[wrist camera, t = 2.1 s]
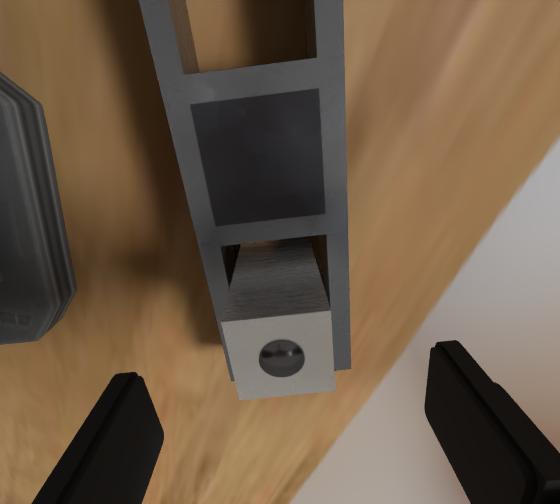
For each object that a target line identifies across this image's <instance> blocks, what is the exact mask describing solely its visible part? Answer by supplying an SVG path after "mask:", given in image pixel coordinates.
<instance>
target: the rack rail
mask: <svg viewBox="0 0 560 504" xmlns="http://www.w3.org/2000/svg"><path fill="white" fill-rule="evenodd" d="M139 4H140V8H141V12H142V16H143V20H144V24H145V28H146V33H147V37H148V41H149V45H150V49H151V53H152V57H153V61H154V65H155V70H156V74H157V78H158V82H159V86H160V90H161V94H162V98H163V102H164V107H165V111H166V115H167V119H168V123H169V127H170V131H171V135H172V139H173V144H174V148H175V152H176V156H177V160H178V164H179V168H180V172H181V176H182V181H183V185H184V189H185V193H186V197H187V201H188V205H189V209H190V213H191V218H192V222H193V226H194V230H195V234H196V238H197V242H198V246H199V250H200V255H201V259H202V263H203V267H204V271H205V275H206V279H207V283H208V287H209V292H210V296H211V300H212V304H213V308H214V312H215V316H216V320H217V324H218V329H219V333H220V337H221V341H222V345H223V349H224V353H225V357H226V361H227V366H228V370H229V374H230V378H231V381H235V380H234V375H233V371H232V367H231V363H230V359H229V354H228V350H227V346H226V342H225V337H224V333H223V329H222V325H221V320H222V316H223V312H224V308H225V305H226V301H227V297H228V293H229V289H230V285H231V281H232V277H233V273H234V269H235V265H236V261H235V256H234V250H233V245H235V244H244V243H253V242H261V241H270V240H279V239H288V238H297V237H306V236H314V235H319V244H320V259H321V275H322V283H323V286H324V289H325V293H326V296H327V299H328V302H329V306H330V309H331V320H332V340H333V359H334V371H336V370H346V369H351V347H350V300H349V253H348V206H347V159H346V113H345V66H344V19H343V0H304V9H305V24H306V40H307V56H308V59H304V60H296V61H288V62H280V63H273V64H265V65H257V66H249V67H242V68H234V69H226V70H218V71H210V72H203V73H199V69H198V63H197V58H196V53H195V48H194V43H193V37H192V32H191V27H190V22H189V17H188V11H187V6H186V1H185V0H139Z"/></svg>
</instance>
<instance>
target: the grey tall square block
mask: <svg viewBox="0 0 560 504" xmlns="http://www.w3.org/2000/svg"><path fill="white" fill-rule="evenodd" d="M221 325H222V329H223V333H224V337H225V342H226V346H227V350H228V354H229V359H230V363H231V367H232V371H233V375H234V380H235V384H236V388H237V392H238V397H239V400H247V399H257V398H267V397H277V396H287V395H298V394H308V393H318V392H328V391H335V378H334V359H333V340H332V320H331V309H330V306H329V302H328V299H327V296H326V293H325V289H324V286H323V283H322V279H321V276H320V273H319V269H318V266H317V263H316V259H315V256H314V253H313V250H312V246H311V243H310V240H309V236H306V237H297V238H288V239H279V240H270V241H261V242H253V243H244V244H241V246H240V250H239V254H238V257H237V261H236V265H235V269H234V273H233V277H232V281H231V285H230V289H229V293H228V297H227V301H226V305H225V308H224V312H223V316H222V320H221Z"/></svg>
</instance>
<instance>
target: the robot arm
mask: <svg viewBox="0 0 560 504" xmlns="http://www.w3.org/2000/svg"><path fill="white" fill-rule="evenodd" d="M425 414H426V417H427V419H428V421H429V423H430V425H431V427H432V429H433V431H434V433H435V435H436V437H437V439H438V441H439V443H440V444H441V447H442V448H443V450H444V452H445V454H446V456H447V458H448V460H449V462H450V464H451V466H452V468H453V470H454V471H455V474H456V476H457V478H458V480H459V481H460V483H461V485H462V487H463V489H464V491H465V493H466V495H467V497H468V499H469V501H470V503H471V504H560V453H559V452H558V451H557V450H556V448H555V447H554V446H553V445H552V444H551V443H550V442H549V440H548V439H547V438H546V437H545V436H544V435H543V434H542V432H541V431H540V430H539V429H538V428H537V427H536V425H535V424H534V423H533V422H532V421H531V420H530V418H529V417H528V416H527V415H526V414H525V413H524V412H523V411H522V409H521V408H520V407H519V406H518V405H517V403H515V402H514V400H513V399H512V398H511V396H510V395H509V394H508V393H507V392H506V391H505V390H504V389H503V388H502V387H501V386H500V385H499V384H497V383H495V382H493V381H492V380H491V379H490V378H489V376H487V374H486V373H485V372H484V371H483V369H482V368H481V367H480V366H479V365H478V363H476V361H475V360H474V359H473V358H472V356H471V355H470V354H469V353H468V352H467V350H466V349H465V348H464V347H463V346H462V345H461V344H460V343H459V342H458V341H456V340H453V341H443V342H437V343H436V345H435V347H433V348H431V350H430V360H429V368H428V378H427V388H426V397H425ZM163 440H164V432H163V429H162V426H161V424H160V421H159V418H158V416H157V413H156V411H155V408H154V405H153V403H152V400H151V398H150V395H149V392H148V390H147V387H146V385H145V382H144V379H143V378H142V377H141V376H138V374H137V373H136V372H129V373H119V374H116V375H114V377H113V378H112V379H111V381H110V383H109V384H108V386H107V387H106V389H105V390H104V392H103V393H102V395H101V397H100V398H99V400H98V401H97V403H96V404H95V406H94V407H93V409H92V410H91V412H90V414H89V415H88V417H87V418H86V420H85V421H84V423H83V424H82V426H81V428H80V429H79V431H78V432H77V434H76V435H75V437H74V438H73V440H72V442H71V443H70V445H69V446H68V448H67V449H66V451H65V452H64V454H63V456H62V457H61V459H60V460H59V462H58V463H57V465H56V466H55V468H54V469H53V471H52V473H51V474H50V476H49V477H48V479H47V480H46V482H45V483H44V485H43V487H42V488H41V490H40V491H39V493H38V494H37V496H36V497H35V499H34V501H33V502H32V504H142V501H143V498H144V496H145V493H146V490H147V487H148V484H149V481H150V479H151V476H152V473H153V470H154V467H155V464H156V462H157V459H158V456H159V453H160V450H161V447H162V445H163Z"/></svg>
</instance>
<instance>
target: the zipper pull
mask: <svg viewBox="0 0 560 504" xmlns="http://www.w3.org/2000/svg"><path fill="white" fill-rule="evenodd" d="M76 290H77V286H76V281H75V276H74V271H73V266H72V261H71V256H70V251H69V247H68V241H67V236H66V230H65V224H64V219H63V213H62V208H61V202H60V197H59V191H58V185H57V180H56V174H55V169H54V163H53V157H52V152H51V146H50V141H49V135H48V130H47V124H46V120H45V116H44V111H43V107H42V104H40V102H38V101H37V100H36V99H35V98H33V97H32V96H31V95H29V94H28V93H27V92H26V91H24V90H23V89H22V88H20V87H19V86H18V85H17V84H15V83H14V82H13V81H11V80H10V79H9V78H8V77H6V76H5V75H4V74H2V73H1V72H0V345H1V344H12V343H22V342H32V341H38V340H39V339H40V338H41V337H42V336H44V335H45V334H46V333H47V332H48V331H49V330H50V329H51V328H52V327H53V326H54V325H55V324H56V323H57V322H58V321H59V320H60V319H61V318H62V317H63V315H64V313H65V311H66V309H67V307H68V305H69V303H70V301H71V300H72V298H73V296H74V294H75V292H76Z"/></svg>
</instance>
